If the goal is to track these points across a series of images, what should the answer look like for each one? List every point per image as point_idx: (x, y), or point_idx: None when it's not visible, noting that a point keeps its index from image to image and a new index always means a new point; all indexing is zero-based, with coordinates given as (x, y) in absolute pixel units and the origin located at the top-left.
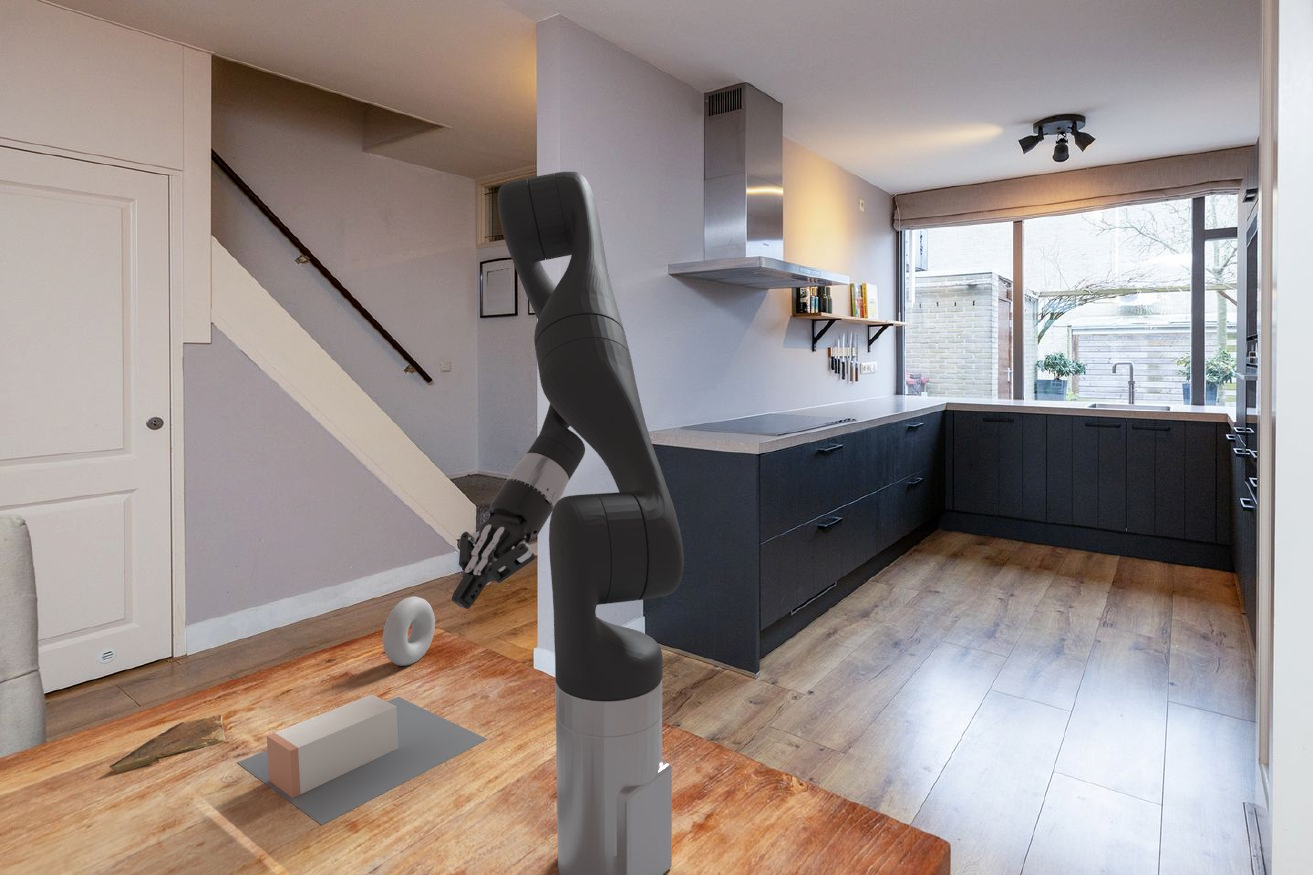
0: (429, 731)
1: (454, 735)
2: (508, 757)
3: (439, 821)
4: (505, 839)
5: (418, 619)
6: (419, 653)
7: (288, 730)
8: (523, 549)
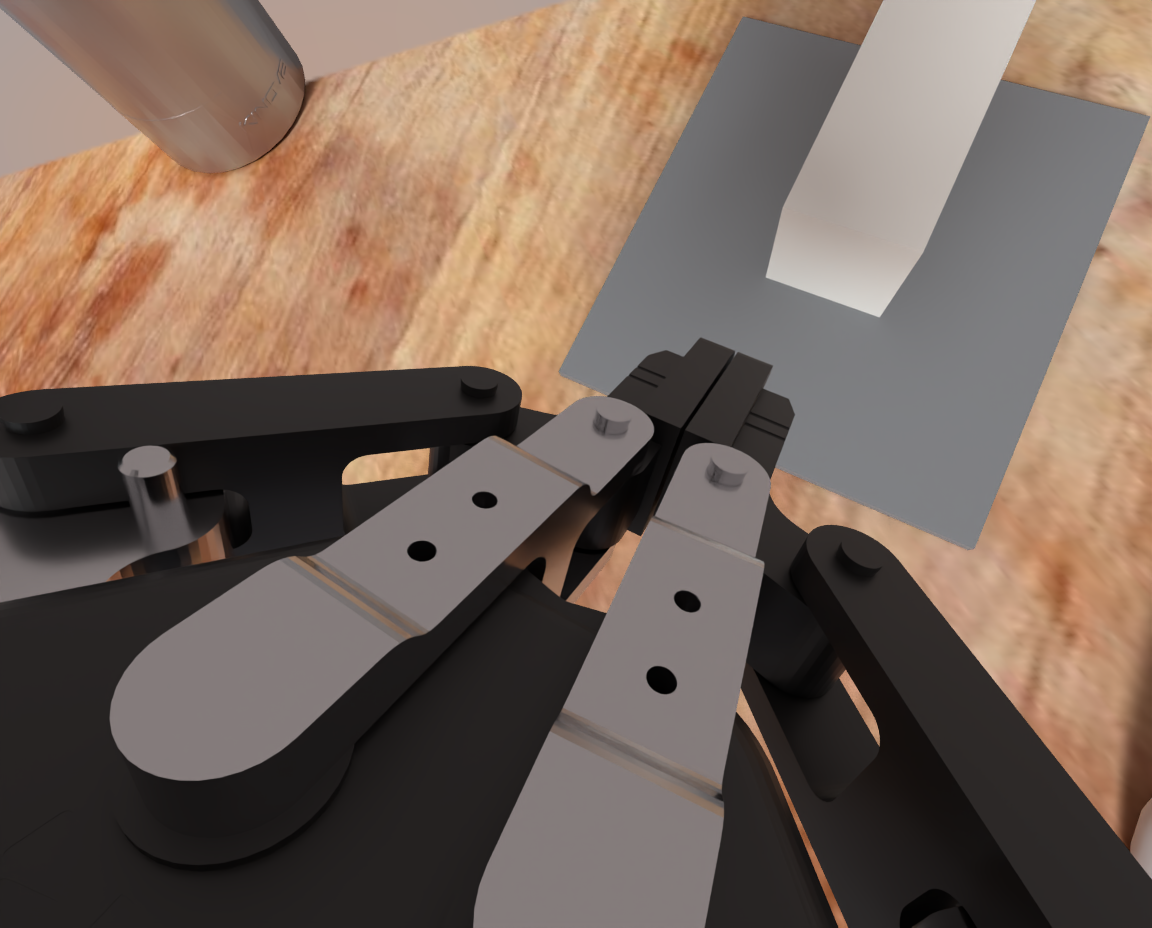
0: None
1: None
2: (488, 331)
3: (537, 109)
4: (404, 105)
5: None
6: None
7: (1006, 11)
8: (19, 394)
